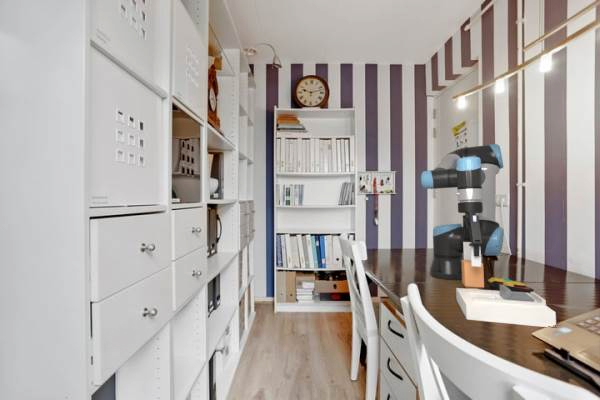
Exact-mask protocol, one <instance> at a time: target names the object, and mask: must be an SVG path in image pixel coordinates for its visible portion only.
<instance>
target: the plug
mask: <svg viewBox="0 0 600 400" xmlns="http://www.w3.org/2000/svg"><path fill="white" fill-rule="evenodd" d="M461 263H462V279H461V281H462V282H461V283H462V284H463V285H464V287H466V288H465V289H479V290H481V289H480V288H485V279H484V275H485V274H484V263H483V262H482V261H481V267H477V266H471V260H464V259H463V260H461Z"/></svg>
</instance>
